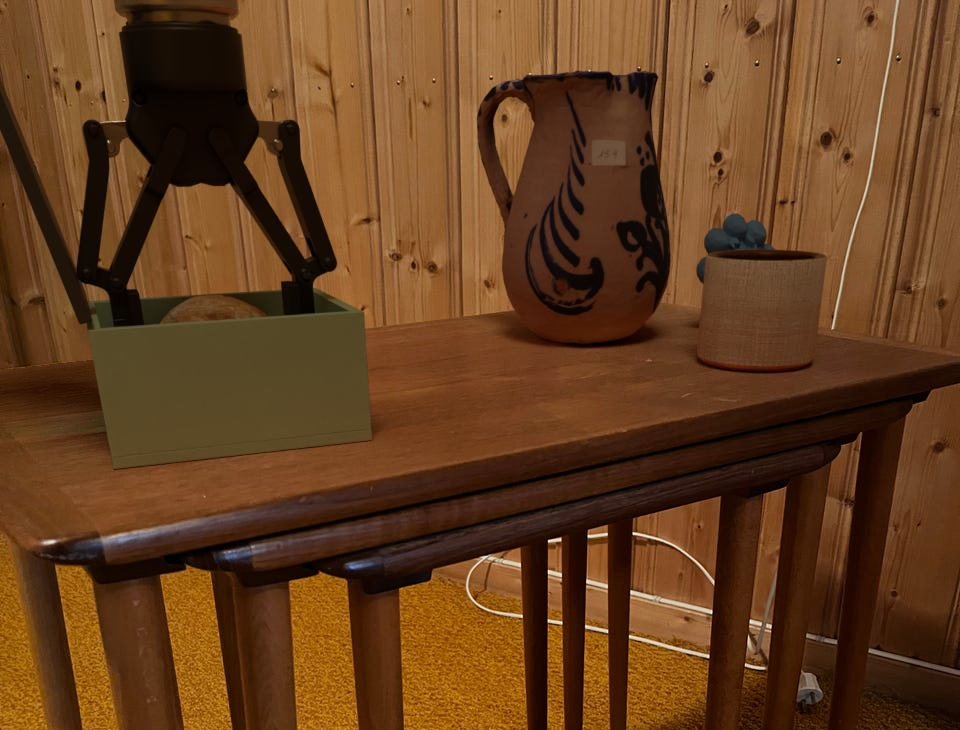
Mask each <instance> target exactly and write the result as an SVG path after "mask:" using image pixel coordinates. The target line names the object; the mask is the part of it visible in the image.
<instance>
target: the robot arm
mask: <svg viewBox="0 0 960 730" xmlns="http://www.w3.org/2000/svg"><path fill="white" fill-rule="evenodd" d="M113 4H114V5H113V6H114V11H115V12H116V13H117V15H119V16H120V17H122V18H125V19H126V21H125V25H123V26H122V27H121V31H119V32H118V36H119V37H118V38H119V45H120V50H121V57H122V64H123V72H124V79H125V83H126V91H127V98H128V108H127V112H126V115H125V118H124V120H123V119H122V120H106V121H98V120H96V119H93V118H91V119H87V120H86V121H84V123H83V125H82V127H81V129H82V130H81V131H82V132H81V133H82V137H83V140H84V145H85V150H86V153H87V158H88V163H87V171H86V172H87V173H86V179H85V189H84V199H83V206H82V207H83V208H82V216H81V222H80V223H81V225H80V233H79V243H78V248H77V249H78V251H77V258H76V260H77V261H76V266H75V267H76V272H77V277H78V279H79V280H80V281H81V282H82V284H85V285H89V286H93V287H96V288H100V289H102V290H104V291H105V292H106V293H107V296H108V300H110V306H111V312H112V318H113V323H114V327H124V326H139V325H144V320H143V314H142V308H141V301H140V298H141V296H140V292H139V291H138V289H137V288H129V289H128V285H129V282H130V279H131V278H132V274H133V272H134V270H135V266H136V265H137V262H138V260H139V257H140V255H141V252H142V250H143V247H144V245H145V242H146V240H147V238H148V235H149V233H150V230H151V228H152V226H153V223H154V221H155V219H156V216H157V213H158V211H159V209H160V206H161V204H162V201H163V200H164V198H165V196H166V194H167V191H168V188H169V186H170V185H171V186H174V187H176V188H191V187H193V186H197V185H200V184H201V185H207V186H211V187H226V185H230V186H231V188H232V190H233V192H235V194H236V195H237V197H238V198H239V199H240V200H241V202H242V203H243V205H244V206H245V208H246V209H247V211H248V213H249V214H250V215H251V218H253V220H254V221H255V223H256V225H257V226H258V228H259V229H260V230H261V232H262V234H263V236H264V237H265V238H266V240H267V242H268V244H270V246H271V247H272V249H273V250H274V252H275V253H276V255H277V257H278V258H279V260H280V261H281V263H282V264H283V266H284V267H285V268H286V270H287V272H288V273H289V275H290V276H291V280H282V281H280V288H281V289H280V290H282V300H283V310H284V316H285V315H300V314H315V307H314V294H313V288H314V283H315V281H316V280H317V278H318V277H320V276H323V275H325V274H326V273H333V272H334V271H335V270H336V269H337V267H338V260H337V257H336V254H335V250H334V249H333V246H332V242H331V239H330V236H329V234H328V231H327V228H326V226H325V223H324V220H323V217H322V215H321V211H320V208H319V205H318V203H317V199H316V197H315V194H314V192H313V189H312V186H311V183H310V180H309V177H308V174H307V172H306V169H305V166H304V163H303V159H302V152H301V151H302V149H301V128H300V125H299V123H298V122H297V121H295V120H294V119H283V120H280V121H275V120H258V118H257V117H256V115H255V114H254V112H253V110H252V108H251V105H250V101H249V94H248V92H249V91H248V83H247V75H246V65H245V64H246V63H245V54H244V45H243V35H242V33H239V30H238V28H236V27H234V26H232V21H233V20H235V19H236V18H237V17H238V16H239V15H240V5H239V0H113ZM258 138H259V139H260V140H261V141H263V142H264V144H265V148H266V150H267V153H269V154H270V155H272V156H275V157H276V159H277V166H278V168H279V171H280V175H281V178H282V179H283V183H284V185H285V188H286V191H287V193H288V196H289V200H290V201H291V205H292V207H293V211H294V212H295V215H296V218H297V220H298V223H299V226H300V229H301V232H302V234H303V238H304V240H305V244H306V245H307V249H308V251H309V254H310V256H309V257H306V258H305V256H304V255H303V253H302V252H301V250H300V249H299V247H298V246H297V244H296V242H295V241H294V239H293V238H292V236H291V235H290V233H289V232H288V230H287V229H286V227H285V225H284V224H283V223H282V222H283V221H281V219H280V218H279V216H278V215H277V213H276V212H275V210H274V208H273V207H272V205H271V204H270V202H269V200H268V199H267V197H266V196H265V195H264V193H263V192H262V190H261V187H260V186H259V183H258V182H257V180H256V179H255V177H254V175H253V174H252V173H251V171H250V169H249V168H248V166H247V165H246V163H245V161H246V160H247V158H248V156H249V155H250V152H251V151H252V149H253V147H254V146H255V144H256V141H257V140H258ZM125 139H129V141H130V142H131V144H133V145H134V147H135V148H136V149H137V150H138V152H139V153H140V155H142V156H143V157H144V159H145V160H146V161H147V162H148V164H149V167H148V170H147V172H146V175H145V177H144V180H143V182H142V184H141V189H140V191H139V194H138V196H137V199H136V201H135V204H134V206H133V209H132V212H131V214H130V216H129V218H128V221H127V224H126V225H125V228H124V230H123V233H122V236H121V238H120V241H119V243H118V246H117V247H116V250H115V253H114V256H113V258H112V261H111V263H110V265H109V268H107V267H103V266H99V259H100V251H101V243H102V234H103V229H104V228H103V227H104V221H105V219H104V218H105V212H106V211H105V210H106V204H107V195H108V187H109V178H110V168H111V167H110V166H111V165H110V158H111V159H112V158H116V157H117V156H118V155H119V154H120V151H121V143H122V142H123V140H125Z"/></svg>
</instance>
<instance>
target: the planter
mask: <svg viewBox="0 0 960 730" xmlns="http://www.w3.org/2000/svg"><path fill="white" fill-rule="evenodd" d="M705 256H706V262H705V273H704V284H702V295H701V296H702V297H701V306H700V314H699V323H698V333H697V334H698V335H697V343H696V355H697V357H698V358H699V359H700V361H702V362H703V363H705V364H706V365H708V366H711V367H714V368H718V369H723V370H732V371H737V372H738V371H740V372H753V373H754V372H757V373H767V372H768V373H769V372H774V373H775V372H785V371H794V370H798V369H802V368H803V367H805V366H807V365H808V364H810V363H812V362H813V361H814V358H815V356H816V349H817V342H818V341H817V340H818V333H819V324H820V317H821V307H822V301H823V291H824V284H825V276H826V269H827V262H828V256H827V255H826V254H823V253H820V252H815V251H805V250H792V249H775V250H728V251H718V252H712V253H709V254H708V253H706V255H705Z"/></svg>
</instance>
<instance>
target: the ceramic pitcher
mask: <svg viewBox="0 0 960 730" xmlns="http://www.w3.org/2000/svg"><path fill="white" fill-rule="evenodd" d="M658 75H659V74H657V72H651V71H647V70H641V71H633V72H630V73H627V74H622V75H621V74H613V73H612V72H611V71H608V70H604V71H597V70H596V71H595V70H575V71H572V72H570V71H566V72H559V73H550V74H533V75H531V74H526V75H525V76H523V78H515V79H511V80H504V81H502V82H500V83H498V84H496V85H494V86H493V87H491V89H490V90H489V91H488V93H486V95H485V96H484V98H482V101H481V103H480V105H479V108H478V111H477V116H476V125H477V126H476V130H477V131H476V132H477V135H476V137H477V146H478V149H479V154H480V160H481V163H482V166H483V169H484V171H485V174H486V178H487V181H488V185H489V186H490V189H491V191H492V195H493V197H494V199H495V202H496V204H497V207H498V209H499V212H500V216H501V218H502V219H501V220H502V222H503V228H504V234H503V249H502V255H501V258H502V259H501V261H502V262H501V273H502V280H503V285H504V289H505V292H506V296H507V298H508V301H509V302H510V305H511V307H512V308H513V310H514V312H515V313H516V316H517V317H518V318H519V320H520V321H521V322H522V323H523V324H524V325H525V327H526V328H527V329H528V330H530V331H531V332H532V333H533V334H536V336H538V337H539V338H541V339H545V340H548V341H551V342H558V343H565V344H567V345H569V344H578V345H579V344H580V345H581V344H582V345H585V344H586V345H590V344H595V343H598V344H603V343H606V342H607V343H608V342H613V341H619V340H622V339H625V338H628V337H630V336H632V335H634V334H635V333H636V332H637V331H639V329H641V328H642V326H644V325H645V324H646V323H647V322H648V321H649V319H650V318H651V317H652V316H653V315H654V313H655V312H656V311H657V309H658V307H659V306H660V303H661V301H662V299H663V297H664V294H665V292H666V290H667V288H668V282H669V277H670V273H671V256H672V255H671V238H670V235H671V234H670V228H669V220H668V213H667V209H666V203H665V197H664V190H663V186H662V180H661V176H660V170H659V165H658V159H657V157H658V156H657V153H656V146H655V140H654V132H653V131H654V130H653V117H652V116H653V115H652V110H653V102H654V101H653V100H654V95H655V91H656V86H657V84H658V80H659V76H658ZM508 98H512V99H514V98H516V99H518V100H519V101H521V102H523V104H526V106H527V108H528V111H529V113H530V118H531V120H532V122H533V127H532V131H531V135H530V138H529V142H528V145H527V147H526V148H527V149H526V152H525V154H524V159H523V162H522V166H521V171H520V172H519V176H518V179H517V182H516V187H515V190H514V193H513V192H512V189H511V187H510V183H509V181H508V179H507V176H506V173H505V170H504V167H503V165H502V164H501V159H500V155H499V152H498V150H497V148H498V147H497V144H496V142H497V141H496V134H495V126H494V125H495V124H494V121H495V116H496V113H497V111H498V109H499V107H500V104H502V103H503V102H504V101H505V100H506V99H508Z"/></svg>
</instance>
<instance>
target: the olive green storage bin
mask: <svg viewBox="0 0 960 730" xmlns="http://www.w3.org/2000/svg"><path fill="white" fill-rule="evenodd" d="M313 294H314V307H315V314H300V315H285V316H284V310H283V300H282V289H273V290H272V289H271V290H270V289H269V290H255V291H254V290H253V291H239V292H238V291H237V292H222V293H221V292H219V293H204V294H190V295H189V294H188V295H187V294H185V295H173V296H172V295H170V296H155V297H154V296H152V297H140V301H141V308H142V314H143V320H144V325H139V326H124V327H114V323H113V318H112V312H111V306H110V300H109V299H102V300H88V304H89V309H90V313H91V317H92V321H91V322H88V323H85V324H86V330H87V335H88V341H89V346H90V352H91V357H92V362H93V368H94V373H95V378H96V384H97V390H98V394H99V400H100V405H101V411H102V415H103V420H104V426H105V431H106V436H107V443H108V447H109V452H110V458H111V463H112V464H111V465H112V468H113V470H120V469H128V468H137V467H146V466H154V465H164V464H172V463H181V462H190V461H200V460H209V459H219V458H227V457H236V456H245V455H254V454H261V453H269V452H270V453H271V452H279V451H280V452H281V451H288V450H298V449H307V448H315V447H323V446H332V445H333V446H334V445H342V444H351V443H359V442H368V441H372V440H373V432H372V431H373V430H372V413H371V399H370V383H369V367H368V353H367V352H368V350H367V335H366V319H365V311H363V310H361V309H360V308H357V307H356V306H353V305H351V304H349V303H347V302H345V301H343V300H341V299H340V298H337V297H335V296H333V295H331V294H329V293H327V292H325V291H323V290H321V289H319V288H316V287H313ZM207 295H222V296H228V297H233V298H236V299H239V300H241V301H244V302H246V303H248V304H250V305H252V306H255V307H257V308H258V309H260V310H261V311H262V312H264V313H265V314H266V315H267V316H269V317H256V318H241V319H227V320H212V321H197V322H183V323H168V324H160V322H161V321H162V319H163V318H164V317H165V316H166V314H167V313H168V312H169V311H170V310H171V309H173V308H174V307H176V306H178V305H179V304H181V303H183V302H184V301H186V300H188V299H190V298H192V297H195V296H207Z"/></svg>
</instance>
